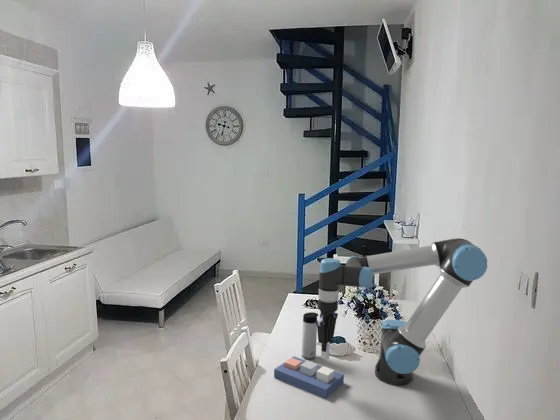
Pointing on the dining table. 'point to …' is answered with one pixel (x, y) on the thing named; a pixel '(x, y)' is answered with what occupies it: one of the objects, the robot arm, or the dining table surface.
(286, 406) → the dining table surface
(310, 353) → the travel mug
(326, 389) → the board
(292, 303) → the dining table surface
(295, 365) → the key coral
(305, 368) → the key grey
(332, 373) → the key ivory
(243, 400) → the dining table surface
